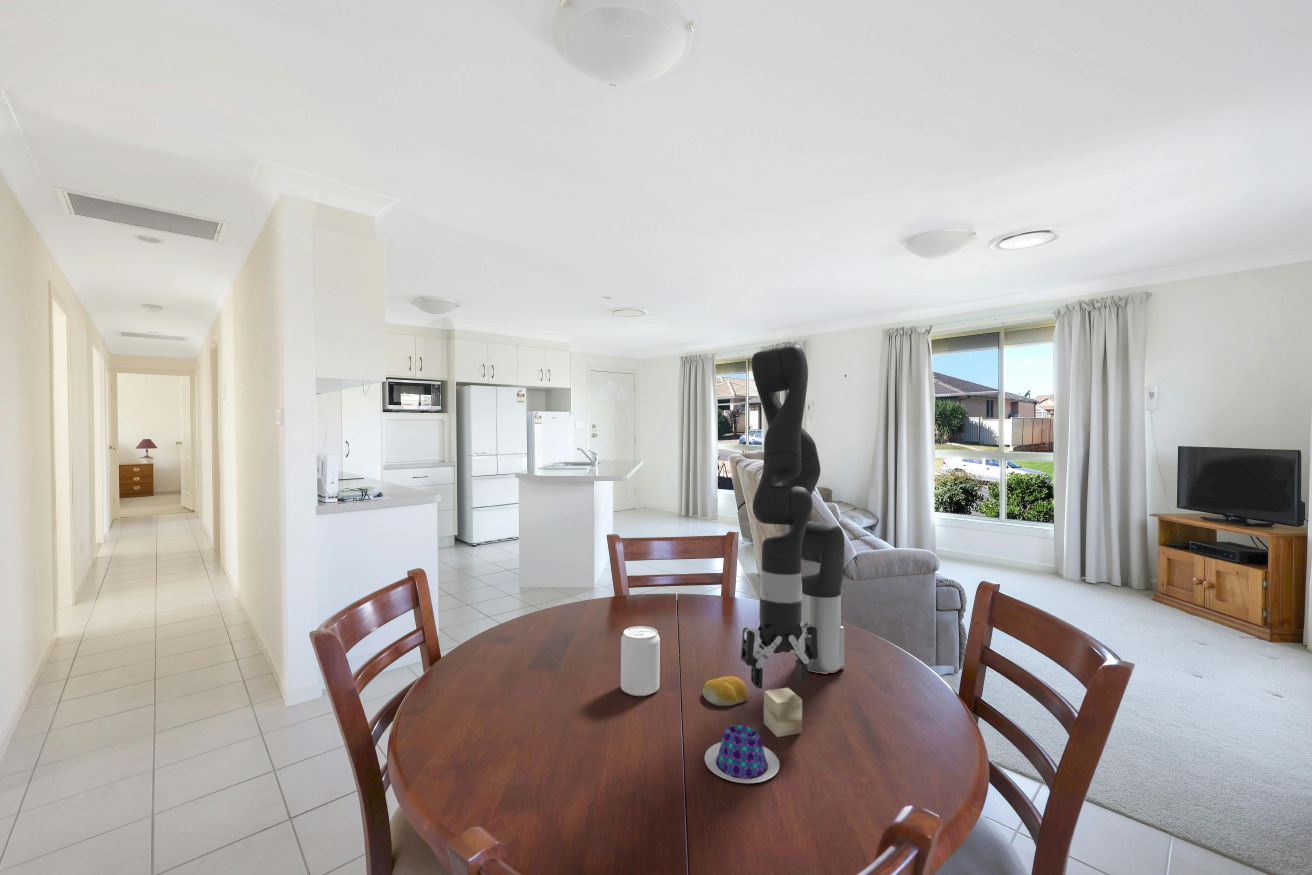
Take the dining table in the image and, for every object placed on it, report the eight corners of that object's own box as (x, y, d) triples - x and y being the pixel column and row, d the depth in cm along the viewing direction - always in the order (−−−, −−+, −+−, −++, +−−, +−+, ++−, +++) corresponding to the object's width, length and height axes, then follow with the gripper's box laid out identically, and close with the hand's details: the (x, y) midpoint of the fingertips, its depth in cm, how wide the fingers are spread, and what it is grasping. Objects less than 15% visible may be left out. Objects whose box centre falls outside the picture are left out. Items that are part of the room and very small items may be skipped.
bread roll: (755, 699, 112) (756, 680, 112) (721, 711, 107) (721, 690, 107) (729, 684, 119) (729, 665, 119) (695, 694, 114) (695, 675, 114)
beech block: (787, 719, 104) (787, 687, 104) (802, 732, 99) (802, 699, 99) (763, 723, 102) (763, 690, 102) (777, 736, 98) (777, 702, 98)
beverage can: (655, 699, 111) (655, 640, 111) (616, 695, 113) (616, 636, 113) (662, 682, 119) (663, 626, 119) (626, 679, 121) (626, 624, 121)
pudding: (784, 753, 93) (784, 722, 93) (772, 795, 82) (772, 760, 82) (715, 738, 97) (715, 708, 97) (695, 776, 86) (695, 743, 86)
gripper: (804, 588, 107) (803, 672, 106) (736, 591, 103) (734, 679, 102) (826, 598, 99) (825, 689, 99) (754, 603, 95) (752, 697, 95)
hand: (779, 684), depth 101 cm, fingers open, 8 cm apart
